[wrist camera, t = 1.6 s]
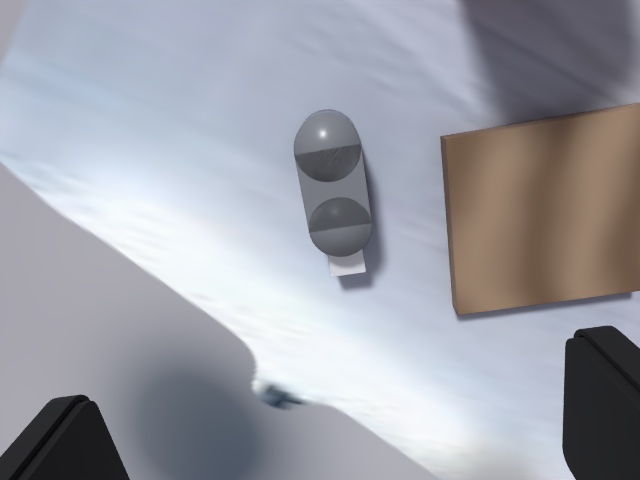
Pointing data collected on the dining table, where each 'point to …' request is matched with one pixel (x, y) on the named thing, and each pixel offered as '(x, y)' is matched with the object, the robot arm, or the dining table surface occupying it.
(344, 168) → the grey double dome block
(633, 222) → the walnut board
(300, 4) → the dining table surface
